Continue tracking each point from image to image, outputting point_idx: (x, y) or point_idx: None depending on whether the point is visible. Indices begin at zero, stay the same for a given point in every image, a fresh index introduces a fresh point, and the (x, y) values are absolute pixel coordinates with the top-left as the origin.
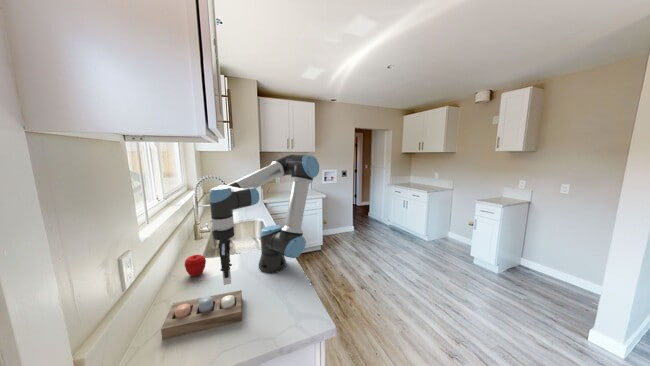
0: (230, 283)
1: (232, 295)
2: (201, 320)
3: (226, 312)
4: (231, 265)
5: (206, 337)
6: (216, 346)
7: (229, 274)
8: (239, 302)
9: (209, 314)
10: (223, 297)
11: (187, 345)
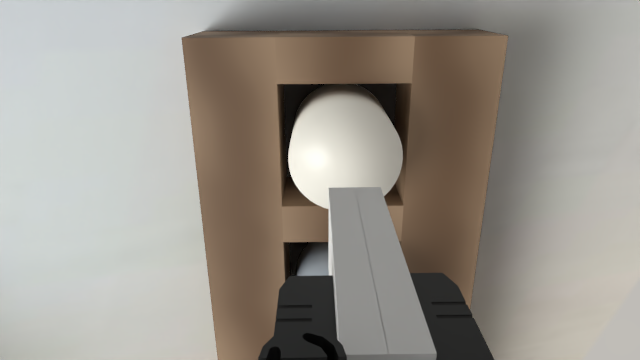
0: (379, 194)
1: (302, 123)
2: (470, 297)
3: (464, 151)
4: (341, 349)
5: (522, 229)
6: (622, 170)
7: (406, 278)
8: (374, 52)
9: (434, 261)
10: (307, 197)
11: (532, 305)
